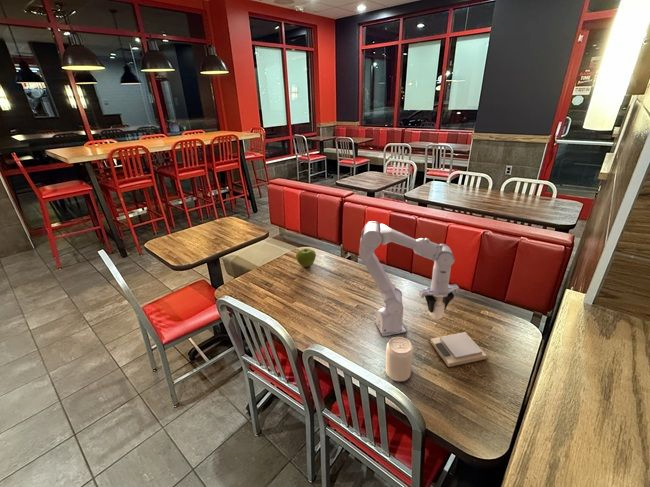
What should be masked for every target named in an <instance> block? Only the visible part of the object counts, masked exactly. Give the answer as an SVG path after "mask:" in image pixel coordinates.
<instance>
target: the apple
mask: <svg viewBox="0 0 650 487" xmlns="http://www.w3.org/2000/svg"><path fill="white" fill-rule="evenodd" d="M316 257H317V253H316V251H315V250H314V249H312V248H309V247H306V248H305V247H304V248H301V249H299V250H297V252H296V254H295V258H296V261H297V262H298V265H300V266H302V267H305V268H309V267H311V266H312V265H314V262H315V260H316Z"/></svg>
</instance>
